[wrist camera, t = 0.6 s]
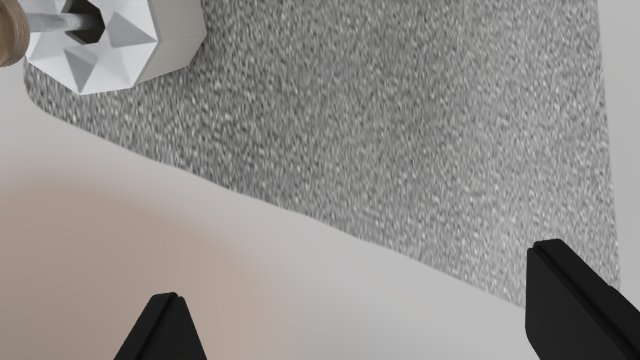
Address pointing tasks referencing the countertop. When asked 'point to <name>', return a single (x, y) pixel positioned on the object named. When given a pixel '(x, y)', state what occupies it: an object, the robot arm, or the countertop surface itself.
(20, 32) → the plunger
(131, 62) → the press pot
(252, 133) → the countertop surface
